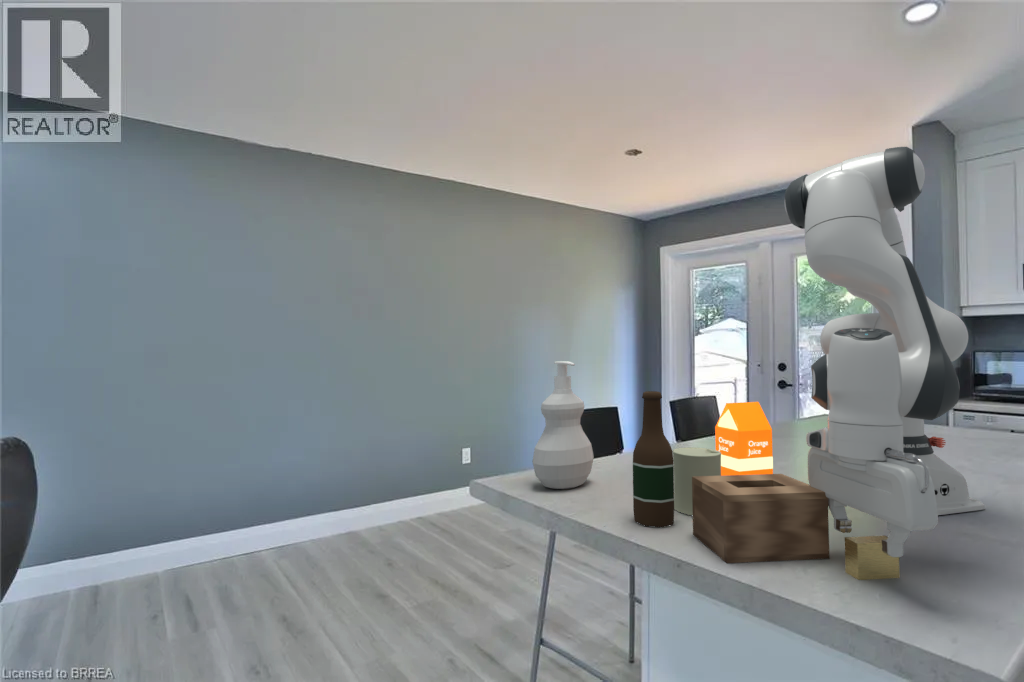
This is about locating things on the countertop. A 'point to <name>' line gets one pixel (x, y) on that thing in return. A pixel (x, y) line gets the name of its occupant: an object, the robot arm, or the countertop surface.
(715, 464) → the can
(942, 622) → the countertop surface
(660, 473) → the beer bottle
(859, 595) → the countertop surface
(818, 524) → the coin box
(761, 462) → the orange juice
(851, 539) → the wooden block
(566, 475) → the soap bottle
